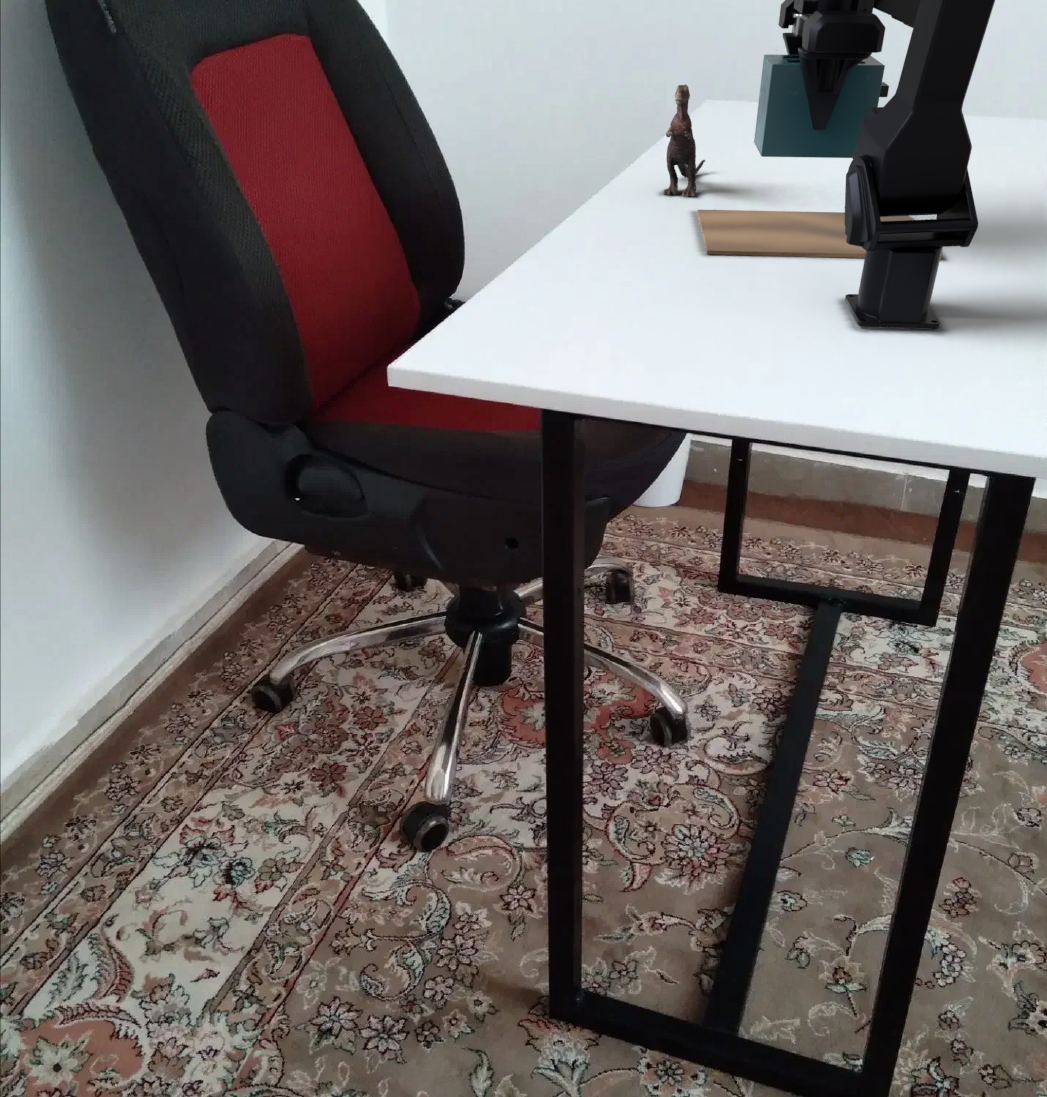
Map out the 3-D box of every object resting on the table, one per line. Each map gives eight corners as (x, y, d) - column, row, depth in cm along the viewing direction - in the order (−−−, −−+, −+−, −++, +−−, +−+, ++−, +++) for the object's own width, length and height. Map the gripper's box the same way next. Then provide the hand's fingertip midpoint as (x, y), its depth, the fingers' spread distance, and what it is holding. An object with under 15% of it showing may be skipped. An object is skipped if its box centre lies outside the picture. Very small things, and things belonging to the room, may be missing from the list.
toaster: (761, 156, 97) (772, 62, 93) (753, 142, 102) (764, 53, 98) (881, 158, 97) (899, 64, 92) (868, 144, 102) (884, 54, 97)
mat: (941, 259, 98) (941, 255, 97) (706, 254, 99) (707, 250, 99) (906, 217, 109) (906, 213, 109) (696, 213, 111) (697, 209, 110)
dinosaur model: (668, 84, 108) (691, 70, 120) (653, 200, 114) (677, 175, 126) (706, 88, 107) (725, 74, 119) (689, 204, 113) (709, 179, 125)
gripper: (967, -62, 81) (924, 145, 90) (909, -73, 97) (878, 105, 105) (823, -63, 82) (795, 144, 91) (789, -73, 98) (768, 104, 106)
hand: (813, 122), depth 98 cm, fingers closed on toaster, 6 cm apart
